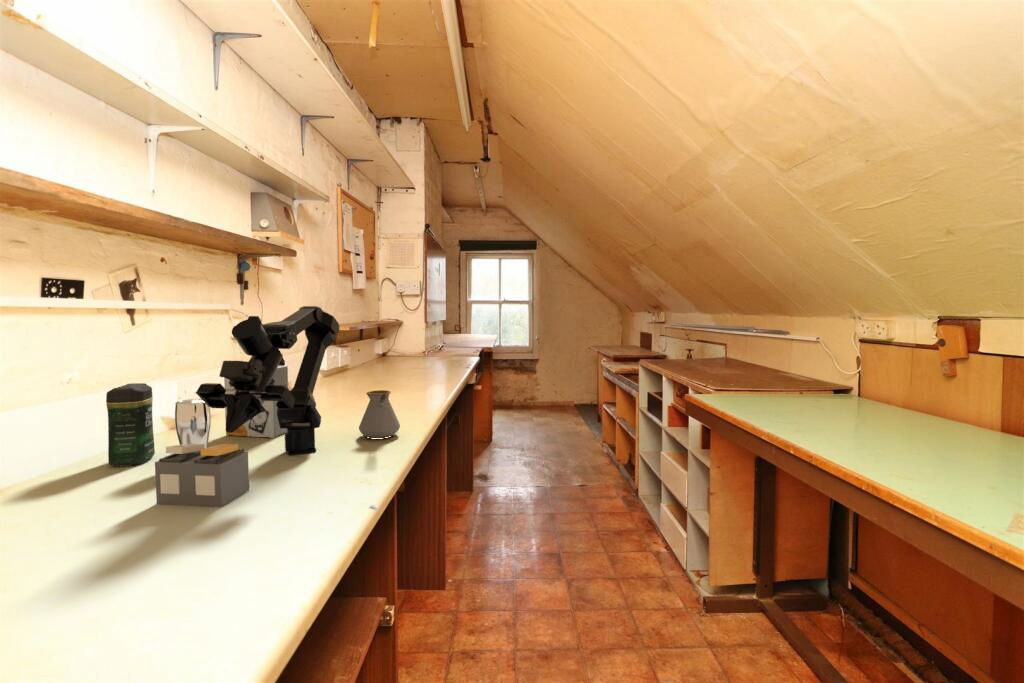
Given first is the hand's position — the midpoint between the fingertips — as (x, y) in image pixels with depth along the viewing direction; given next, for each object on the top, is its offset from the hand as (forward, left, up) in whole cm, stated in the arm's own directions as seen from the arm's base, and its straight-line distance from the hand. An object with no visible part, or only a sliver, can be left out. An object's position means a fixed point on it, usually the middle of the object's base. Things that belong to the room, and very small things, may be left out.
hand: (228, 431), depth 95 cm
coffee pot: (-36, -24, -13) cm, 45 cm away
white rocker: (+7, -2, -3) cm, 8 cm away
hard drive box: (-7, -48, -13) cm, 50 cm away
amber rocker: (+1, +2, -3) cm, 4 cm away
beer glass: (+7, -24, -12) cm, 28 cm away
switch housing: (+4, 0, -12) cm, 13 cm away
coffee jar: (+20, -34, -13) cm, 42 cm away
